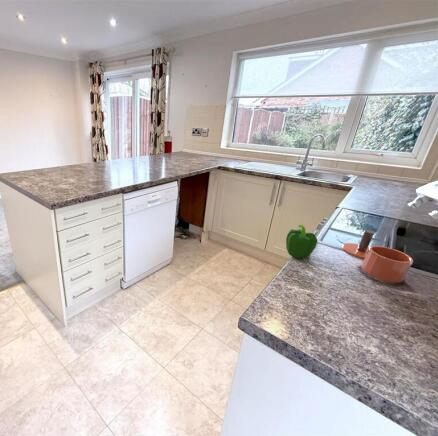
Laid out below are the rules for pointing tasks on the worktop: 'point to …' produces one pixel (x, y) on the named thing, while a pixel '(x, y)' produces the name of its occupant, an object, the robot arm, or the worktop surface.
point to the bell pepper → (300, 243)
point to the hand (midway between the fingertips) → (420, 211)
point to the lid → (360, 245)
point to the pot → (386, 263)
